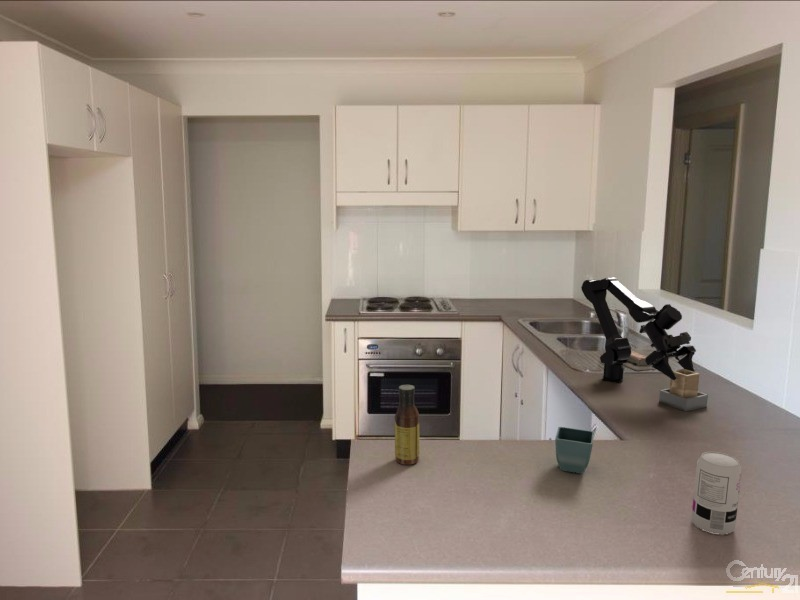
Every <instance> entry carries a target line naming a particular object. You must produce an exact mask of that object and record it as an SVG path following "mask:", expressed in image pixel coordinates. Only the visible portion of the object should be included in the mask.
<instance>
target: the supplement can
mask: <svg viewBox="0 0 800 600" xmlns="http://www.w3.org/2000/svg"><path fill="white" fill-rule="evenodd" d="M742 471H743V469H742V467H741V464H740V460H738V459H737V458H736V457H735V456H732V455H731V454H727V453H724V452H719V451H706V452H703V453H702V454H701V455H700V456H699V457H698V459H697V462H696V470H695V478H694V487H693V488H694V490H693V499H692V507H691V508H692V510H691V522H692V523H693V524H694V525H695V527H696V526H698V527H699V528H701V529H704V530H706V531H709V532H713V533H719V534H726V533H729V534H731V533H733V532H734V531H735V530H736V523H737V514H738V507H739V500H740V499H739V497H740V489H741V481H742ZM698 527H697V528H698ZM699 528H698V529H699Z"/></svg>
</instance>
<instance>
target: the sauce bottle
mask: <svg viewBox="0 0 800 600" xmlns="http://www.w3.org/2000/svg"><path fill="white" fill-rule="evenodd" d="M415 389H416V388H415V385H412V384H401V385H399V386H398V396H399V401H398V406H397V409H396V412H395V415H394V455H395V456H394V457H395V461H396V462H397V463H398V464H399V465H405V466H411V465H415V464H417V463H418V462H419V460H420V454H421V453H420V413H419V410H418V408H417V406H416V405H415V393H416V391H415Z"/></svg>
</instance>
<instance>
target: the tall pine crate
mask: <svg viewBox="0 0 800 600" xmlns="http://www.w3.org/2000/svg"><path fill="white" fill-rule="evenodd" d="M672 371H673V372H674V374H675V377H676V379H675V380H672V379H671V378H669V388H670V389H669V393H672V394H675V395H677V396H680V397H683V398H686V399H687V398H692V397H696V396H697V394H698V392H699V383H700V373H699V372H695V371H694V372H693V371H689V370H686V369H684V368H681V369H674V370H672Z"/></svg>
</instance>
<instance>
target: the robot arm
mask: <svg viewBox="0 0 800 600" xmlns="http://www.w3.org/2000/svg"><path fill="white" fill-rule="evenodd" d="M580 288H581V289H580V290H581V291H582V293H583V295H584V297H585V299H586V300H587V301H589V303H591V304H592V307H593V309H594V312H595V314H596V317H597V319H598V322H599V324H600V328H601V330H602V332H603V335H604V337H605V342H604V343H605V344H604V350H605V352H603V354H602V355H600V357H599V359H600V363H601V364H603V374H602V378H601V380H603V381H609V382H615V383H621V382H622V380H624V378H625V369H626V368H625V366H624V365H623V363H627V361H628V359H629V357H630V355H631V350H632V346H631V345H630V341H629V338H627V337H623V336H621V335H620V333H619V330H618V328H617V325H616V322H615V320H614V318H613V315H612V313H611V310H610V307H609V305H608V302H607V299H606V298H607V293H608V292H609V293H610V294H611V295H612V296H614V297H615V298H616V300H618V301H619V302H620V303H621V304H623V306H625V307H626V309H627V310H628V314H629V316H630V317H631V318H632V319H633V320H634V321H635V322H636V323H646V324H641V325H640V328H639V334H646V335H647V337H648V338H649V340H650V342H651V344H650V347H651V348H655V349H656V350H654V351H652V352H651V353H649V354H647V356H645V357H646V358H645V362H646V364H647V365H648V366H651V367H652V368H655V369H654V370H657V371H658V372H660V373H662V374H663V375H665V376H666V377H668V378H669V379H670V378H671V379H672V380H675V379H676V377H675V374H674V372H673V371H674V370H673V368H672V367H671V364H670V362H669V360H670V359H672V358H674V359H675V360H677V364H678V365H680V366H681V367H682V369H686V370H689V371H693V372H695V369H694V364H693V356H694V355H695V353H696V352H697V349H696V348H695V346H694V345H691V344H690V343H691V340H692V336H691V335H690V334H689V332H688V331H683V332H680V333H679V335H676V336H674V335H673V334H668V332H667V331H668V330H671V328H674V326H675V325H676V324H678V323H680V322H681V320H682V319H683V315H682V313H681V312H680V311H679V310H678V309H677V308H675V306H672V304H669V303H668V304H664V305H663V306H662V307H661V308H660V309H657V308H656V307H655V306H654V305H653V304H651V303H649V302H647V301H645V300H641V299H640V298H638V297H637V296H636V295H634V294H633V293H632V292H631V291H630V290H629V289H628V288H627V287H626V286H624V285H623V284H622V283H621V282H620V281H619V280H618V279H617V277H614V276H613V277H604V278H597V279H595V278H594V279H593V278H592V279H586V280H584V281H583V283H582V284H581V287H580ZM666 330H667V331H666Z"/></svg>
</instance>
